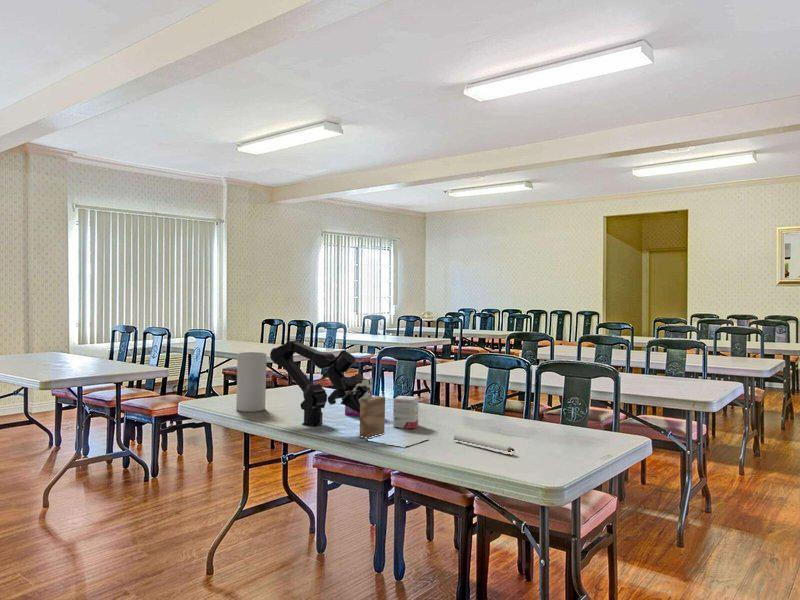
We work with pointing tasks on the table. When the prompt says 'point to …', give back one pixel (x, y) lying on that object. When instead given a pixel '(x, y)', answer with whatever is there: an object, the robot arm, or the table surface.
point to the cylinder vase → (251, 381)
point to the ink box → (405, 412)
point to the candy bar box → (369, 384)
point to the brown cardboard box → (372, 416)
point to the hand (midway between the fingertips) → (360, 412)
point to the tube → (482, 443)
